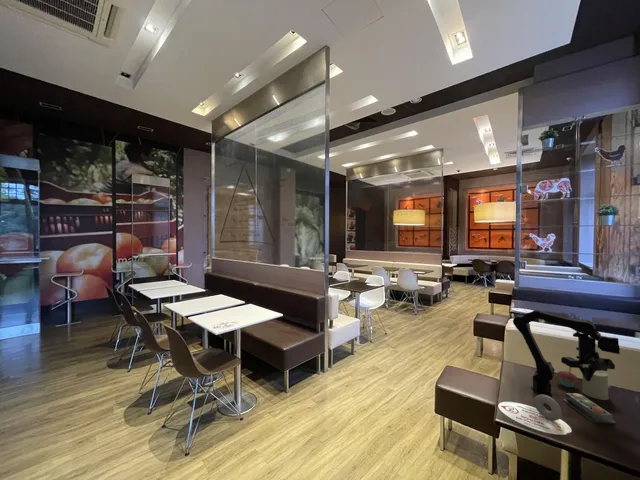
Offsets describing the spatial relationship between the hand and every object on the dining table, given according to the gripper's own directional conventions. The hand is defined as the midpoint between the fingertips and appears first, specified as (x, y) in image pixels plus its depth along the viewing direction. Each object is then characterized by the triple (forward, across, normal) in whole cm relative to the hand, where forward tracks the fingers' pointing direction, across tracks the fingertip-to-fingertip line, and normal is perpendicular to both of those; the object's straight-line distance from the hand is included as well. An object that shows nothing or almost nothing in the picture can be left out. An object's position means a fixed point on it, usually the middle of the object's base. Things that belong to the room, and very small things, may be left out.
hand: (587, 380), depth 124 cm
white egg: (+11, -4, +1) cm, 12 cm away
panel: (+12, -4, -4) cm, 13 cm away
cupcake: (+12, +5, +19) cm, 23 cm away
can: (+12, +12, +11) cm, 20 cm away
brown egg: (+11, -4, -9) cm, 15 cm away
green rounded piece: (+11, -4, -4) cm, 12 cm away
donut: (+12, -25, -11) cm, 30 cm away
